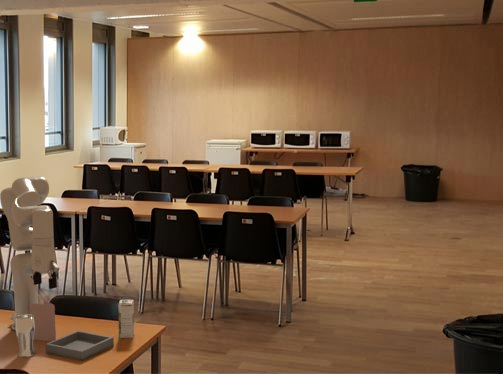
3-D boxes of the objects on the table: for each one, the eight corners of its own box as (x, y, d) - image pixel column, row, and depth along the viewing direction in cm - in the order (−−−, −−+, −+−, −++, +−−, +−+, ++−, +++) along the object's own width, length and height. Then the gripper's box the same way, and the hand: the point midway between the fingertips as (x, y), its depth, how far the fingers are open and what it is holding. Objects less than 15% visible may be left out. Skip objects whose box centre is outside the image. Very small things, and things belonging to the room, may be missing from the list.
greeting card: (58, 341, 287) (56, 304, 285) (39, 345, 282) (38, 308, 280) (47, 334, 296) (45, 298, 294) (29, 337, 291) (27, 301, 289)
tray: (46, 352, 274) (45, 344, 273) (78, 338, 289) (78, 330, 289) (82, 360, 265) (82, 351, 265) (113, 345, 281) (113, 337, 280)
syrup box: (120, 333, 295) (119, 299, 294) (134, 333, 296) (133, 299, 294) (118, 338, 290) (117, 303, 288) (133, 337, 290) (132, 303, 288)
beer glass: (30, 358, 268) (28, 319, 266) (13, 357, 269) (11, 318, 267) (39, 352, 274) (37, 314, 273) (22, 351, 276) (21, 313, 274)
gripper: (21, 240, 272) (23, 284, 274) (48, 246, 261) (50, 292, 263) (38, 237, 278) (40, 280, 280) (65, 242, 267) (67, 287, 269)
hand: (45, 286), depth 271 cm, fingers open, 9 cm apart
